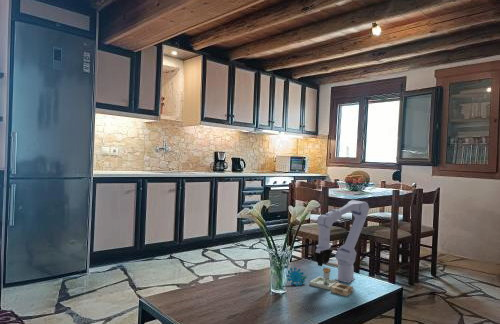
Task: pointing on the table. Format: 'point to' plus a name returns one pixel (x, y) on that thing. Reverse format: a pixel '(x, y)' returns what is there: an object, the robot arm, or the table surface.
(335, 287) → the socket block
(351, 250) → the robot arm
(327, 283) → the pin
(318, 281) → the tray
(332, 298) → the table surface
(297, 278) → the blue spiky virus model
